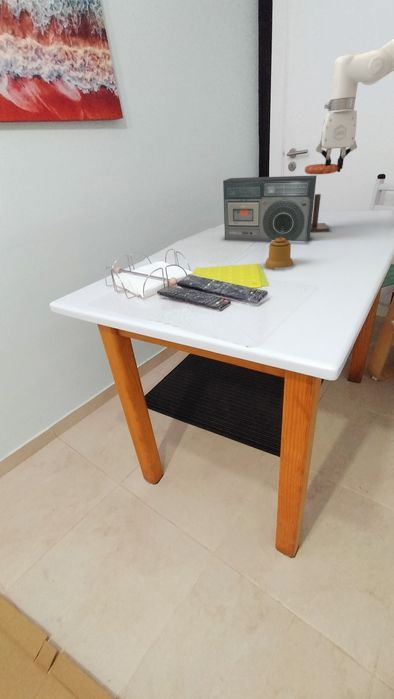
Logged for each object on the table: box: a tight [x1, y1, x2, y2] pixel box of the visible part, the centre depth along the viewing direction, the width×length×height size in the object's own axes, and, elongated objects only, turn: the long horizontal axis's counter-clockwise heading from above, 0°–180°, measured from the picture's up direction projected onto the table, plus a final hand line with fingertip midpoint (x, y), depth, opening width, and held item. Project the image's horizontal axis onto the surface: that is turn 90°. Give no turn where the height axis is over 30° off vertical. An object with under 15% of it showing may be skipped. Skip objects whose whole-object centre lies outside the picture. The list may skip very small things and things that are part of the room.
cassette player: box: [222, 174, 318, 243], centre depth 115 cm, size 29×7×20 cm, turn 65°
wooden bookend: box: [311, 193, 330, 233], centre depth 124 cm, size 9×9×12 cm
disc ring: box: [304, 163, 338, 175], centre depth 116 cm, size 11×11×2 cm
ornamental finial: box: [265, 238, 294, 270], centre depth 94 cm, size 8×8×8 cm
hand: (333, 171), depth 116 cm, fingers closed on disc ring, 2 cm apart
